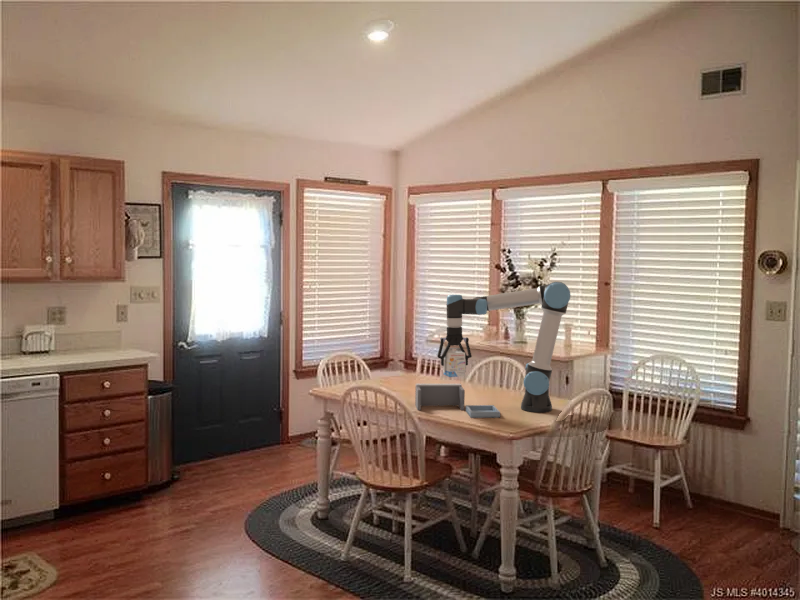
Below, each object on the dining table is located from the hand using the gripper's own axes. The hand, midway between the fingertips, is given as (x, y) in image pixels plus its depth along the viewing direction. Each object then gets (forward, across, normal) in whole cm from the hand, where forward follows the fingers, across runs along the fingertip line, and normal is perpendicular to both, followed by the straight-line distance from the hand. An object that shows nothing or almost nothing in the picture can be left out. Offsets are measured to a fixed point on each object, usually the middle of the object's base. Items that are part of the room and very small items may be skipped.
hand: (454, 372), depth 348 cm
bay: (+19, +7, -6) cm, 21 cm away
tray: (+19, -12, +8) cm, 24 cm away
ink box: (+2, 0, 0) cm, 2 cm away
